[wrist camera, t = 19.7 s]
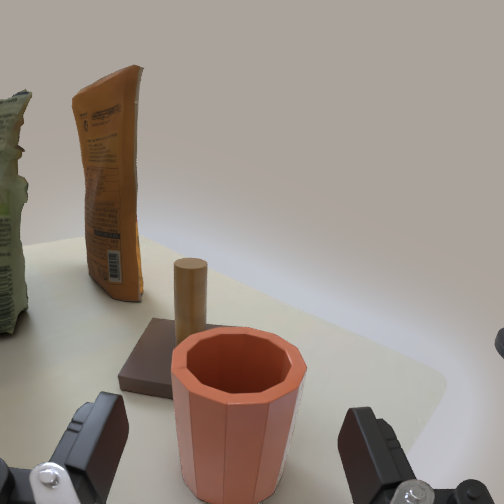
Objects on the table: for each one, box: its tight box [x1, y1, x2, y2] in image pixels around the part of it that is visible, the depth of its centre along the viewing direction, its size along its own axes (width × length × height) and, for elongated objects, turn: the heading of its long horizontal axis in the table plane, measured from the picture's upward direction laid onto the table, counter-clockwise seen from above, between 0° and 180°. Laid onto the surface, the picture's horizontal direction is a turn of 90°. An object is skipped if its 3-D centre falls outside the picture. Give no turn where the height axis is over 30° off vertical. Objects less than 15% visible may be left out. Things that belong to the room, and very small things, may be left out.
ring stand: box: [118, 258, 235, 399], centre depth 26 cm, size 10×10×10 cm
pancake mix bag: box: [72, 65, 144, 301], centre depth 38 cm, size 7×19×28 cm, turn 46°
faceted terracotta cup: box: [171, 327, 307, 504], centre depth 15 cm, size 6×6×9 cm
